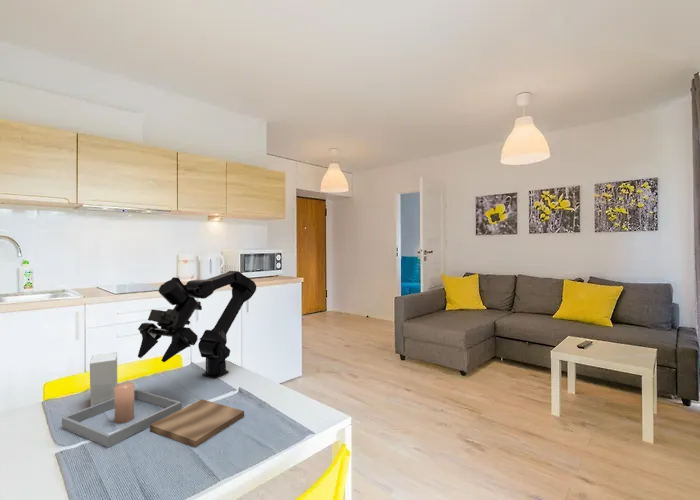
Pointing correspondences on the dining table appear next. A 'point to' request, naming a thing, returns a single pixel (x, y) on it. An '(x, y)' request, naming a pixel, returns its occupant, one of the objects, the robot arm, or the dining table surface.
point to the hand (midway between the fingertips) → (150, 359)
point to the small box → (102, 377)
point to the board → (197, 422)
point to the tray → (108, 440)
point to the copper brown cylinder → (124, 402)
